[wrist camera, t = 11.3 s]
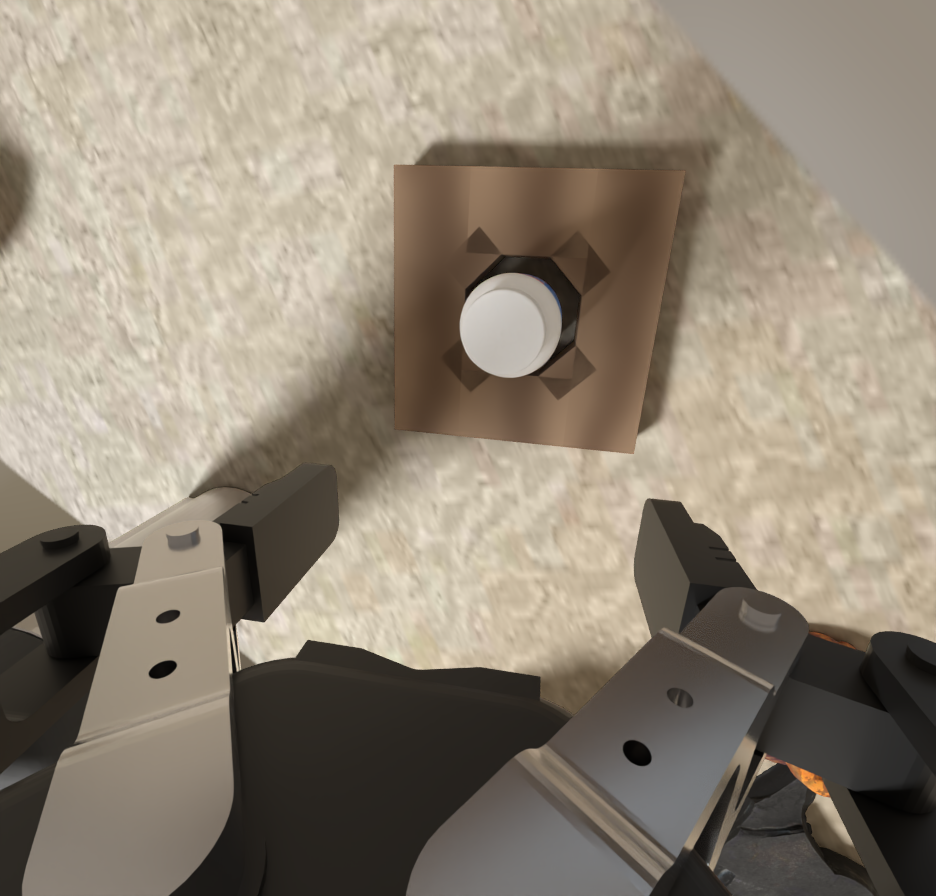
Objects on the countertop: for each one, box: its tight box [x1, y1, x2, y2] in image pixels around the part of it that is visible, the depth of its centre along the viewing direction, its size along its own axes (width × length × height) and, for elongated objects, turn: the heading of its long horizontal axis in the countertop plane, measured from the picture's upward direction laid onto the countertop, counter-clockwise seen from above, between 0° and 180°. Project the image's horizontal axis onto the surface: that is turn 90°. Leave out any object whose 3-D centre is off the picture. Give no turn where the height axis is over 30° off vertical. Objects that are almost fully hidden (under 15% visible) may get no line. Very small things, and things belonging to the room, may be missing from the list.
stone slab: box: [713, 763, 879, 896], centre depth 42 cm, size 22×16×5 cm
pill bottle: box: [460, 273, 562, 378], centre depth 26 cm, size 6×5×10 cm
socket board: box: [394, 165, 686, 454], centre depth 30 cm, size 16×16×2 cm
